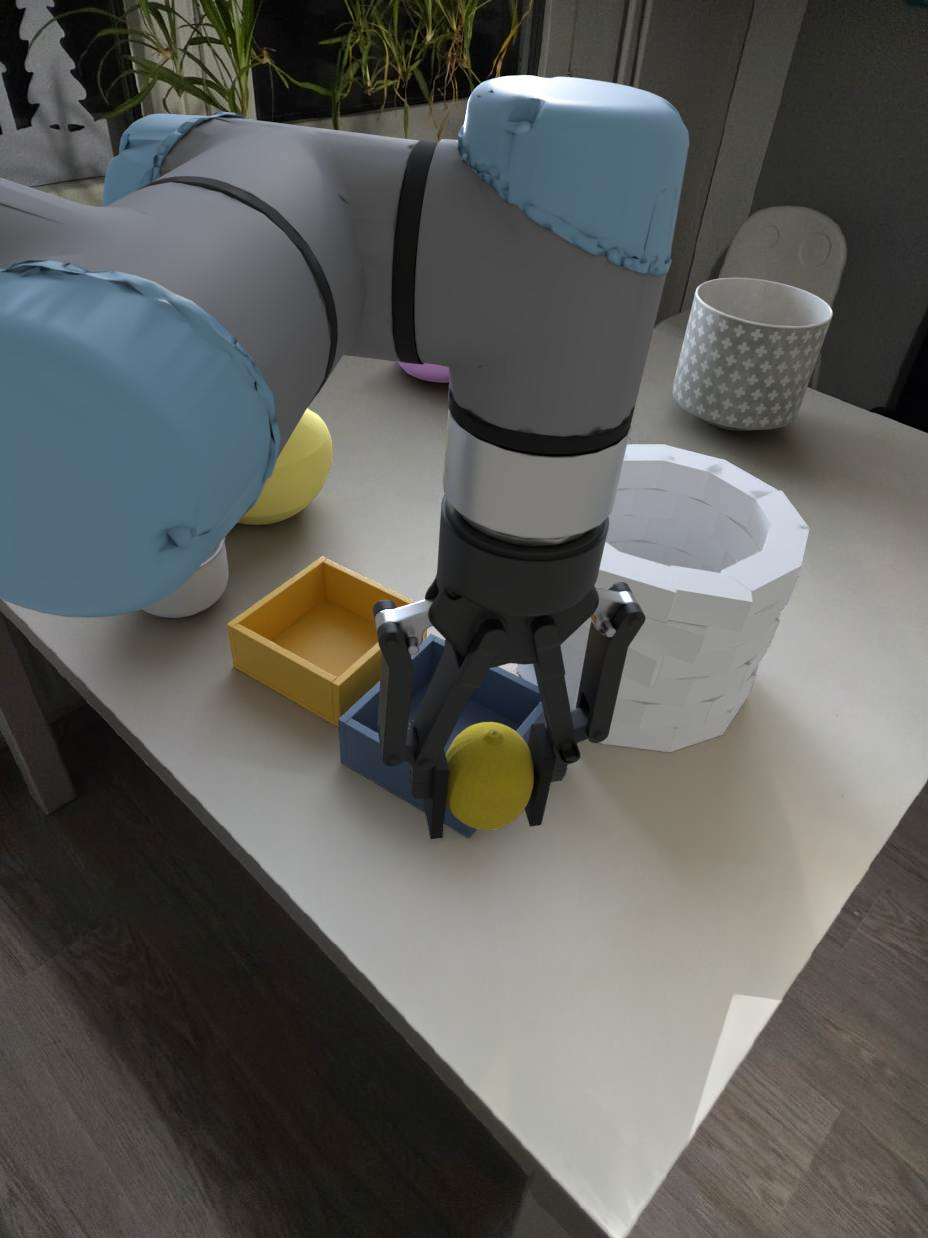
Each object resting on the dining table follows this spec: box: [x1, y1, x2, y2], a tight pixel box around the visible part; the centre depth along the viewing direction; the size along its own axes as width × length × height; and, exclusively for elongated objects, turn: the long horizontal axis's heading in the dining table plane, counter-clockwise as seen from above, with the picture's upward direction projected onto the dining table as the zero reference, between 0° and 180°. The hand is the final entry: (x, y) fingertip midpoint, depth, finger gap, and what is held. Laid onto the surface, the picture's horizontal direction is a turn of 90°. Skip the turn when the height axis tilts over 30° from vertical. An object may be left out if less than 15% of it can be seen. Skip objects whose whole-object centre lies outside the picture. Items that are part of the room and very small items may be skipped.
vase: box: [236, 407, 334, 526], centre depth 96 cm, size 18×18×19 cm
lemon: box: [446, 722, 534, 831], centre depth 49 cm, size 6×6×8 cm
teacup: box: [141, 536, 230, 619], centre depth 86 cm, size 14×11×8 cm
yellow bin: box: [226, 555, 428, 728], centre depth 81 cm, size 14×14×6 cm
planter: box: [671, 277, 834, 432], centre depth 122 cm, size 19×19×18 cm
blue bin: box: [337, 633, 547, 840], centre depth 73 cm, size 14×14×6 cm
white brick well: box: [516, 443, 811, 753], centre depth 78 cm, size 25×24×19 cm
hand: (482, 813), depth 51 cm, fingers closed on lemon, 5 cm apart
